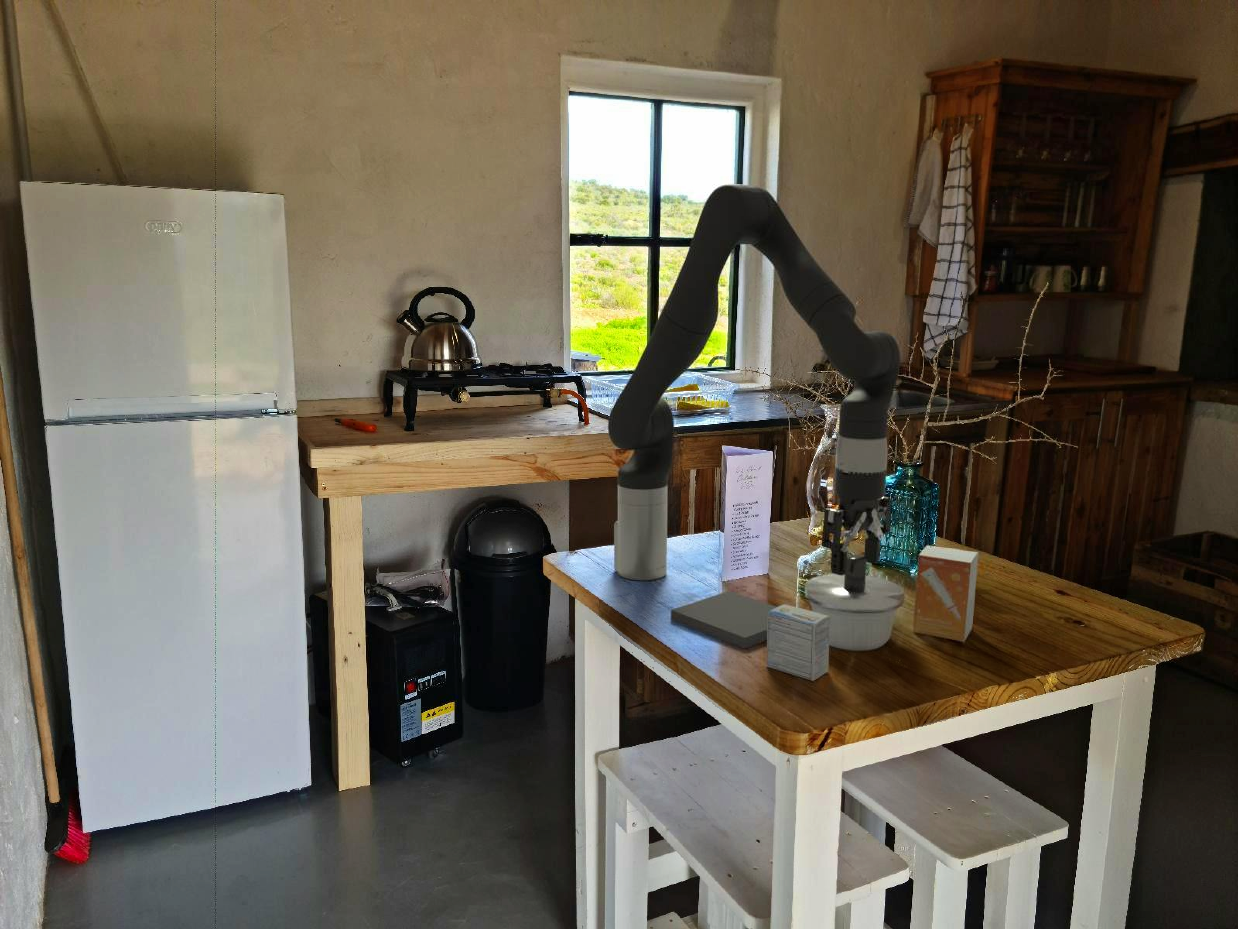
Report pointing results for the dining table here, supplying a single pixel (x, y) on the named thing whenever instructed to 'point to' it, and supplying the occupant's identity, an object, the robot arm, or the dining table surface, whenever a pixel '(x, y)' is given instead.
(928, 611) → the small box
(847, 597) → the lid
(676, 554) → the dining table surface
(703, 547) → the dining table surface
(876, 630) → the ramekin
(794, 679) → the dining table surface
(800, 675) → the medicine box
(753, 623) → the mat
